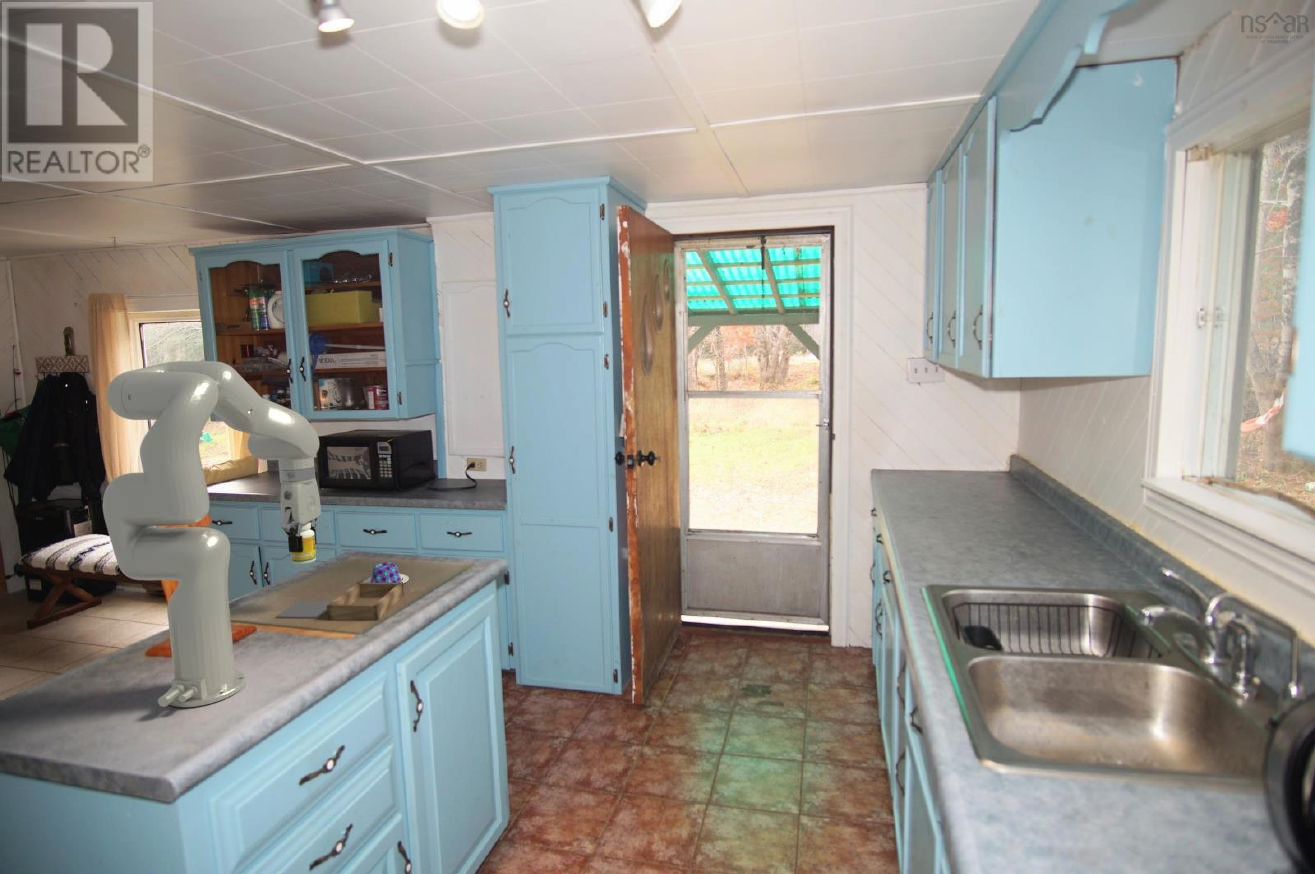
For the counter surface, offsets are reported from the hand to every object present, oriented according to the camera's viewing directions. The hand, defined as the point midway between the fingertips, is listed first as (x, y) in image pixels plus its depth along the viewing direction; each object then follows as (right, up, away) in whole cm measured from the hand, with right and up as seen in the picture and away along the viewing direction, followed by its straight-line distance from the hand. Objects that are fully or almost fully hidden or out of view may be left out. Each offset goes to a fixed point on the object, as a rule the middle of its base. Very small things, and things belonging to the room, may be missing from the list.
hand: (303, 547), depth 168 cm
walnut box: (+14, -15, +4) cm, 21 cm away
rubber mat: (0, -16, +2) cm, 16 cm away
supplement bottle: (0, -4, 0) cm, 4 cm away
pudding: (+12, -14, +22) cm, 28 cm away
